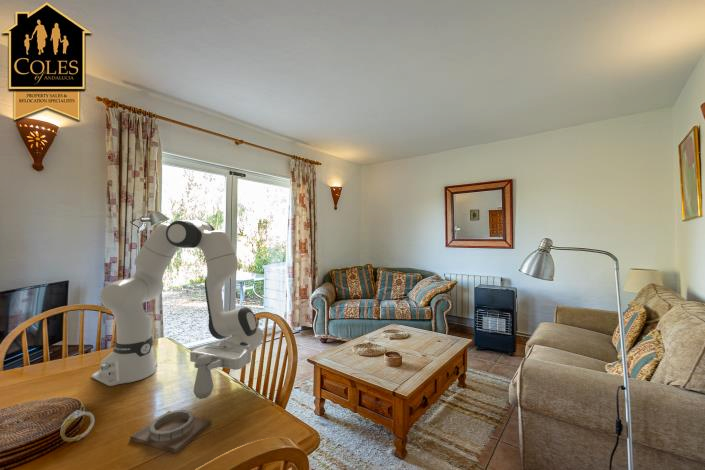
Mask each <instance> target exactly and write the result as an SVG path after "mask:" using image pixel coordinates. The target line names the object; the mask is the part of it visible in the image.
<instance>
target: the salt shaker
mask: <svg viewBox="0 0 705 470" xmlns="http://www.w3.org/2000/svg"><path fill="white" fill-rule="evenodd" d="M210 362H211V356H210V355H209V354H203V355H200V356H199V357H198V358H197V364H198V365H199V366H198V368H197V371H196V376H195V382H194V385H193V386H194V387H193V391H192V392H193V395H195V397H196V398H197V399H199V400H202V399H207V398H208V397H210V396H211V395H212V392H213V389H214V381H213V377H212V376H213V375H212V370H206V369H205V368H206V367H205V365H206V364H209V363H210Z"/></svg>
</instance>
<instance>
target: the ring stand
mask: <svg viewBox="0 0 705 470" xmlns="http://www.w3.org/2000/svg"><path fill="white" fill-rule="evenodd" d="M211 425H212V420H210V419H205V418H201V417H197V416H195V415H194V413H193V412H192V411H191V410H187V409H179V410H172V411H171V410H168V411H167V412H165V413H164V414H162V415H160V416H159V417H157V418H155V419H154V420H152V422H150V423H148V424H146V425H145V426H144V427H143V428H141V429H139V430H138V431H136V432H134V433H133V434H131V435H130V440H129V441H130V442H134V443H138V444H141V445H144V446H148V447H152V448H156V449H159V450H162V451H167V452H169V453H173V454H177V453H179V452H180V451H181V450H182V449H184V447H186V446H188V444H190V443H191V442H192V441H193V440H195V439H196V438H197V437H199V435H201V434H202V433H203V432H204V431H205V430H206V429H207V428H209V427H210V426H211Z"/></svg>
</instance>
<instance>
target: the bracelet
mask: <svg viewBox="0 0 705 470" xmlns="http://www.w3.org/2000/svg"><path fill="white" fill-rule="evenodd" d="M81 416H87V417H89V420H90V423H89V426H88V428H86V430H85V431H84V432H83V433H81V434H77V435H76V436H74V437H67V436H66V430H67V429H68V427H69V426H70V425H71V424H72V423H73V422H74V421H76V419H78V418H79V417H81ZM95 421H96V419H95V416H94V414H93V413H92V412H90V411H85V408H83V409H82V410H79V409H77V410H75V411H73V412H72V413H71V414H69V415H68V416H67V417H66V418H65V419H64V421H63V423H62V424H61V427H60V432H59V433H60V436H61V437H60V438H61V439H62V440H63V441H65V442H68V443H71V442H77V441H80V440H81V439H82V438H85V436H86V435H88V434H90V432H91V430H92V429H93V428H94V426H95Z"/></svg>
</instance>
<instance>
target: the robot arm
mask: <svg viewBox="0 0 705 470" xmlns="http://www.w3.org/2000/svg"><path fill="white" fill-rule="evenodd" d="M179 248H181V249H188V248H189V249H194V248H198V249H200V250H201V251H202V253H203V256H204V259H205V264H206V268H207V272H206V277H205V279H204V292H205V297H206V299H205V300H206V306H207V313H208V330H209V331H208V332H209V333H210V335H211V336H213V338H215V339H217V340H222V341H221V342H220V343H219V345H214V344H213V345H212V344H206V345H205V344H204V345H202V346H200V347H197V348H194V349H191V351H190V354H189V359H190V360H189V361H190V362H192V363H194V364H193V365H194V368H195V369H198V366H199V365H198V364H197V358H198V357H199V356H200V355H203V354H209V355H210V356H211V362H210V363H209V364H206V365H205V367H206V368H205V369H206V370H210V371H212V370H213V369H217V368H224V369H228V370H234V371H235V370H241V369H243V368H244V367H245V366H246V365H248V364H250V363H251V362H252V352H254V351H255V350H256V349H257V348H259V347H260V346H261V345H262V343H263V340H264V333H263V330H262V328H261V327H259V326H258V322H257V318H256V314H255V313H254V311H253V310H252V309H250V308H249V307H247V306H243V307H242V306H241V307H239V308H235V309H232V310H228V311H226V310H225V308H224V300H223V293H222V291H223V288H224V286H225V284H226V283H228V281H229V280H230V279H232V278H233V277H234V276H235V274H236V273H237V271H238V268H239V262H238V258H237V255H236V251H235V249H234V246H233V244H232V242H231V239H230V237H229V236H228V234H227V232H226V231H224V230H220V229H219V230H217V229H215V227H214V226H213V225H212V224H211V223H209V222H206V221H202V220H197V219H177V220H174V221H173V222H171V223H162V224H159V225H158V226H156V228H155V229H154V230H153V231H152V232H151V234H150V235H149V236H148V237H147V238H146V241H145V242H144V244H143V245H142V247H141V248H140V251H139V252H138V254H137V256H136V257H135V259H134V265H135V267H136V269H135V272H134V275H132V276H131V277H129V278H124V279H119V280H116V281H114V282H112V283H111V282H110V284H108V285H106V286H105V287H103V288H102V290H101V292H100V293H99V295H100V297H99V298H100V299H99V300H100V302H101V305H102V306H104V308H106V309H107V310H109V311H110V312H111V313H112V315H113V317H114V319H115V325H116V341H115V342H112V343H111V344H112V345H111V346H112V347H113V346H114V347H113V350H112V352H110V353H109V354H108V355H107V356H106V357H104V358H103V359H102V360H100V364H99V366H100V367H99V370H97V371H96V372H94V373H92V374H91V379H94V380H96V381H98V382H100V383H101V384H104V385H106V386H109V387H113V386H118V385H121V384H128V383H133V382H136V381H140V380H141V381H142V380H144V379H146V378H148V377H150V376H152V375H153V374H154V373H156V371H157V366H158V362H156V359H155V358H156V357H155V348H154V347H153V343H154V339H153V336H152V317H151V316H150V315H149V314H147V313H146V312H145V311H144V305H143V304H144V303H146V302H149V301H152V300H153V299H155V298H157V297H158V296H160V295H161V293H162V292H163V290H164V282H163V278H164V274H165V272H166V270H167V268H168V266H169V264H170V263H171V261H172V259H173V258H174V256H175V255H176V252H177V251H178V249H179ZM225 338H226V339H225Z"/></svg>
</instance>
